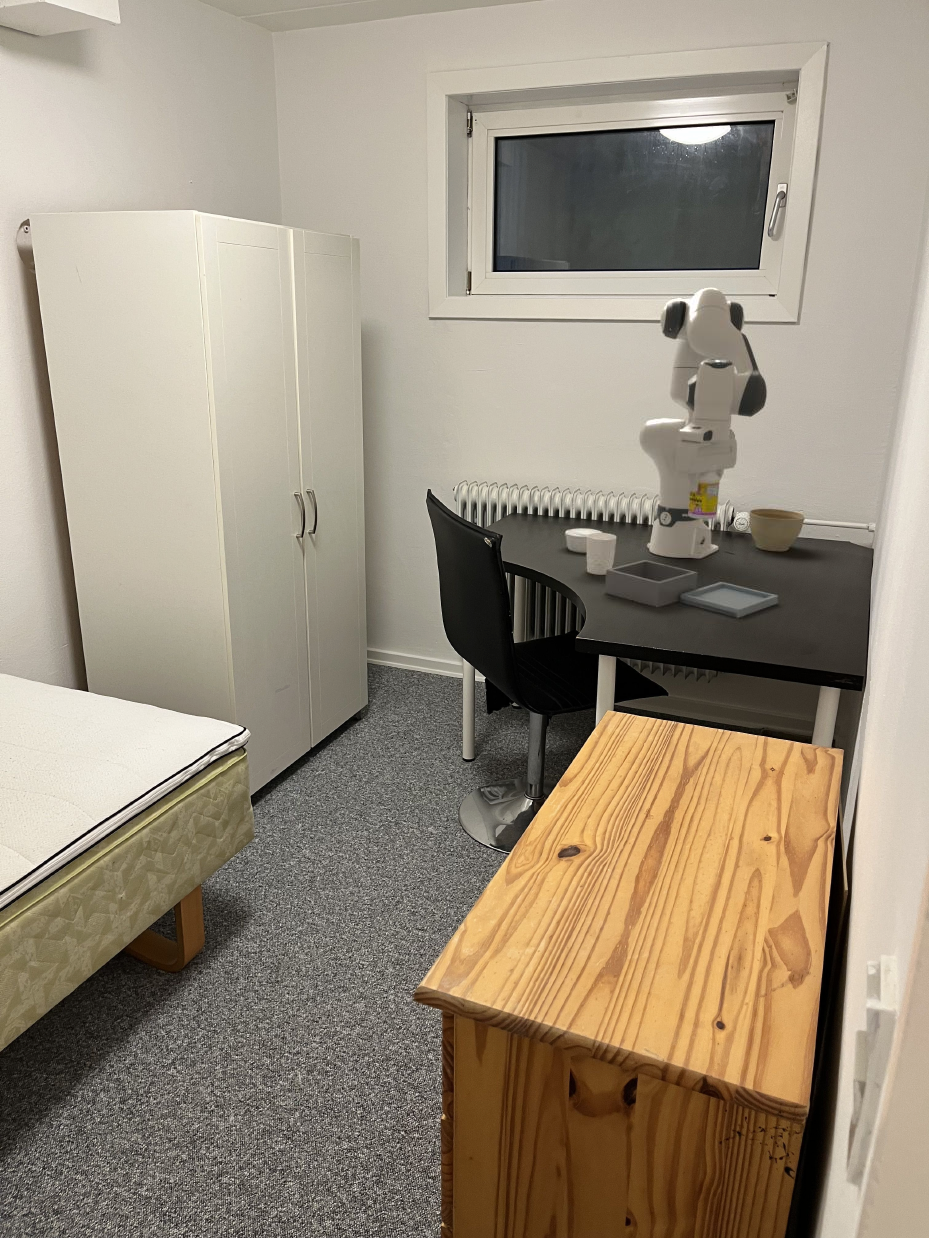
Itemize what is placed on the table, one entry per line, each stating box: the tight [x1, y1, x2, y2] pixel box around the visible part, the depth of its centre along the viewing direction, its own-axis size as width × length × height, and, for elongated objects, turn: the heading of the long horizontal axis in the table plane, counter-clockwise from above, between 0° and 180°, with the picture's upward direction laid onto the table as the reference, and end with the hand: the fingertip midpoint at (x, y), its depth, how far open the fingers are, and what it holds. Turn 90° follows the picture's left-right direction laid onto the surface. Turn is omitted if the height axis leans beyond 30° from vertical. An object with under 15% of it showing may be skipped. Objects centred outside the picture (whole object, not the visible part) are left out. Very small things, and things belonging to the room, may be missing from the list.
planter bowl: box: [748, 508, 806, 552], centre depth 278 cm, size 16×16×11 cm
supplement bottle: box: [688, 464, 721, 520], centre depth 217 cm, size 7×7×13 cm
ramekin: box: [564, 527, 603, 554], centre depth 273 cm, size 11×11×5 cm
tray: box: [679, 581, 779, 619], centre depth 223 cm, size 18×16×2 cm
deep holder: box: [604, 559, 698, 608], centre depth 228 cm, size 16×16×6 cm
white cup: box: [586, 532, 617, 576], centre depth 247 cm, size 8×8×10 cm
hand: (704, 490), depth 217 cm, fingers closed on supplement bottle, 7 cm apart
